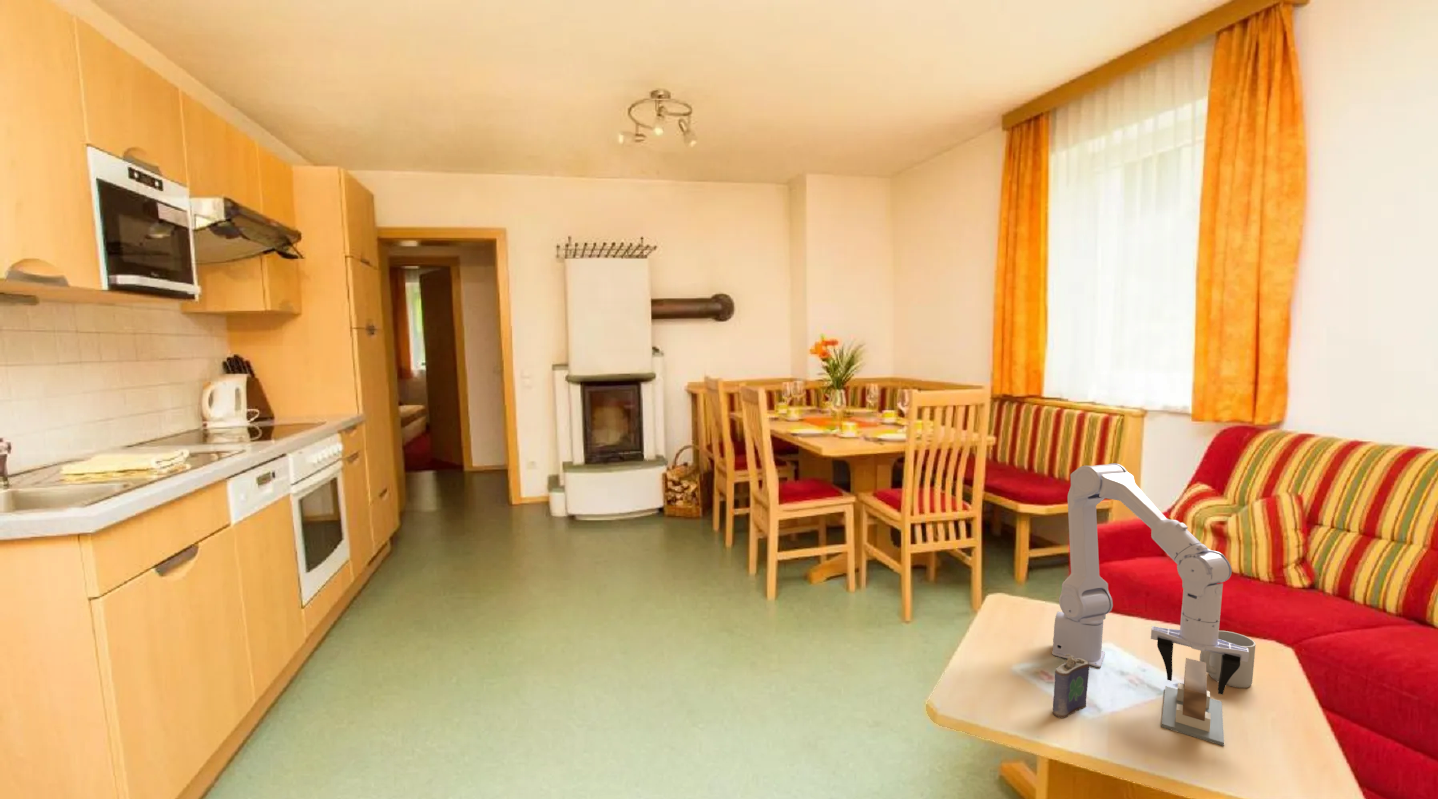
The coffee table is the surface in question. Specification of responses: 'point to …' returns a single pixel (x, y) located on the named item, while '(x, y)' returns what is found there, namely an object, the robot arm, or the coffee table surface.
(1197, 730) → the stand
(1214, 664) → the cup
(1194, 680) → the case
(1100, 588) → the robot arm
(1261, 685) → the coffee table surface
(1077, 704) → the flask
